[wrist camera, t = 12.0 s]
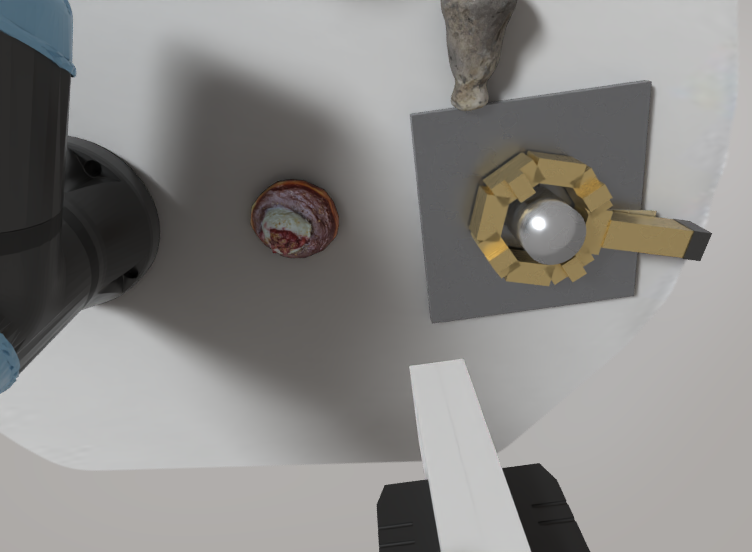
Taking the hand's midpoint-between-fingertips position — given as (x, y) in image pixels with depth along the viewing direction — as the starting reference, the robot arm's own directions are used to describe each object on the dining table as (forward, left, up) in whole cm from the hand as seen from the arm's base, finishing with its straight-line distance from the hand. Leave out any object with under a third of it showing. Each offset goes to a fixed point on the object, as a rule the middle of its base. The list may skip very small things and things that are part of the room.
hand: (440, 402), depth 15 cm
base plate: (+13, -7, -34) cm, 37 cm away
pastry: (-8, -5, -35) cm, 36 cm away
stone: (+9, +8, -35) cm, 37 cm away
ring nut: (+17, -8, -33) cm, 38 cm away
